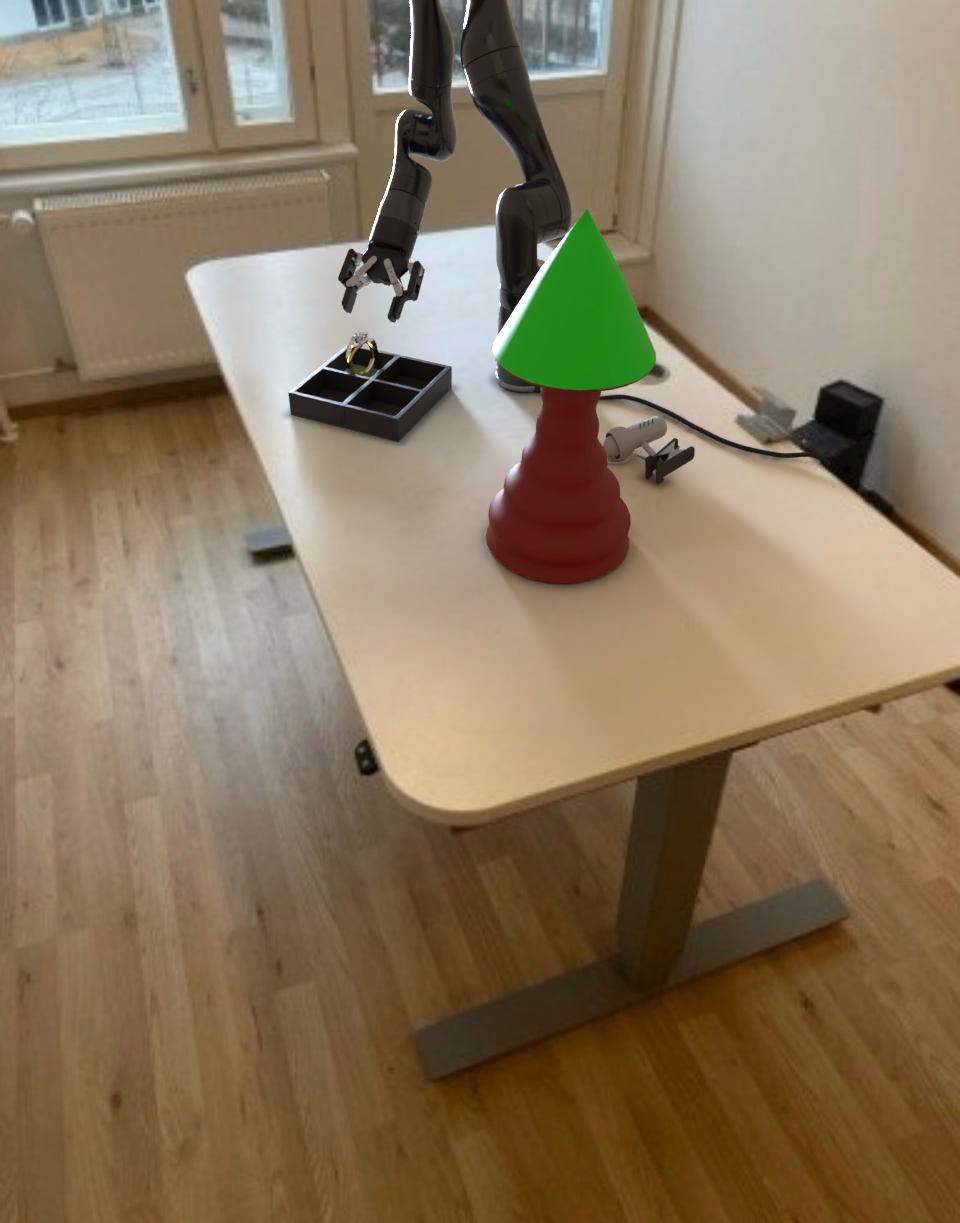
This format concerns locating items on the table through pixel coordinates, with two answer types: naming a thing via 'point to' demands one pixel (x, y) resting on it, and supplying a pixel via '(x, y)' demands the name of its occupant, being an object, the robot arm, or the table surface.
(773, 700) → the table surface
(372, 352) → the ring
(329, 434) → the table surface
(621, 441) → the clip-on lamp
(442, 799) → the table surface
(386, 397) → the organizer
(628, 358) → the table lamp
